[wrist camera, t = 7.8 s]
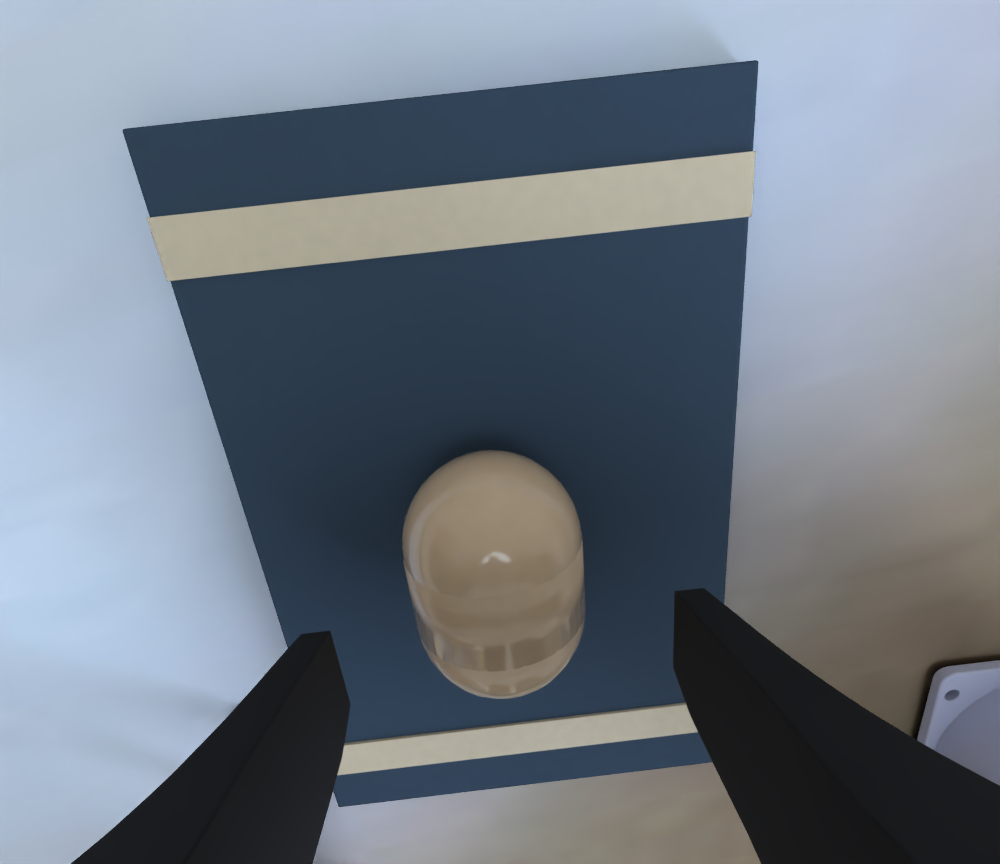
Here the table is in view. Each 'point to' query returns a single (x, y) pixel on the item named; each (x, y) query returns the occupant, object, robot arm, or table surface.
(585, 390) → the towel
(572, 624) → the egg
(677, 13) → the table surface
